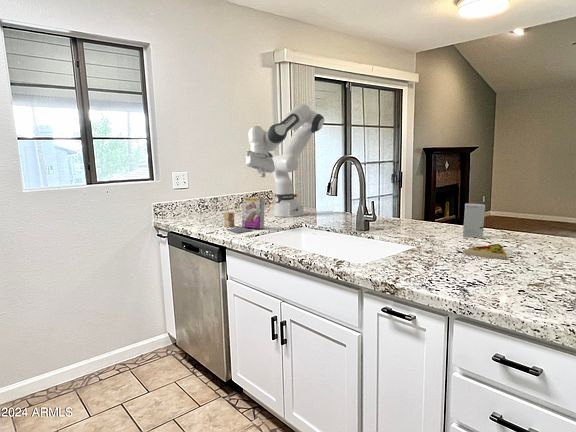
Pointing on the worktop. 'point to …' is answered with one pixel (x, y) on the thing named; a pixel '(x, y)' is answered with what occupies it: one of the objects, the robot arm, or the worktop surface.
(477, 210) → the skincare box
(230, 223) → the oak block
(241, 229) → the rubber mat
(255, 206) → the candy bar box
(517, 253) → the worktop surface
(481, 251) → the pizza slice
